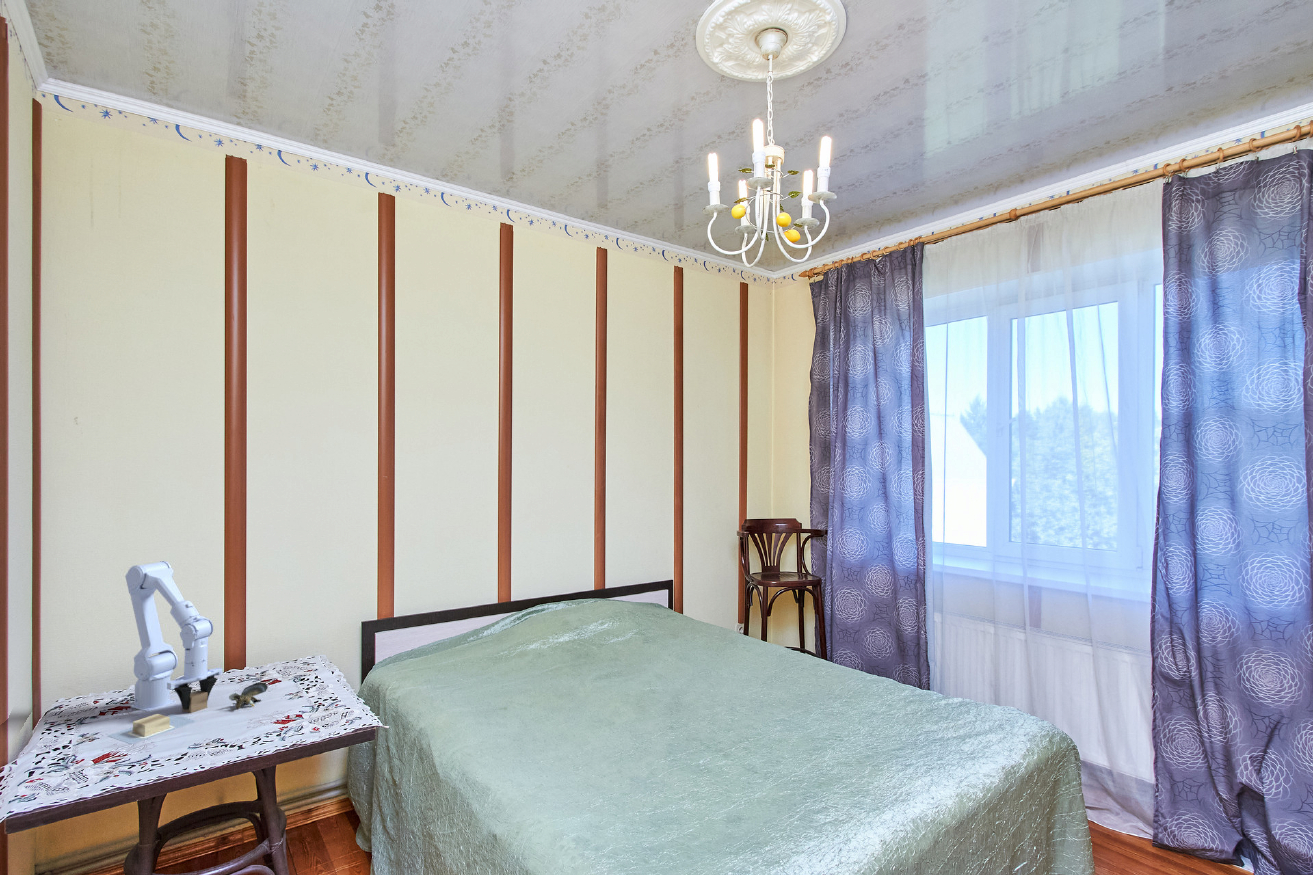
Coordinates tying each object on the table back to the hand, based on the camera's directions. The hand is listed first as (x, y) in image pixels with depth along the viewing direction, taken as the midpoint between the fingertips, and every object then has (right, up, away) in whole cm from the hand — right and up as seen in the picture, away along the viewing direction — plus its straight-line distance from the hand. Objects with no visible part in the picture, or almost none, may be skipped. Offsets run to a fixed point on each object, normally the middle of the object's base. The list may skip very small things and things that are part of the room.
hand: (194, 705), depth 189 cm
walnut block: (0, -1, 0) cm, 1 cm away
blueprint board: (-2, -1, -14) cm, 14 cm away
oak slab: (-1, -1, -15) cm, 15 cm away
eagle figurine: (+14, -2, +4) cm, 15 cm away
